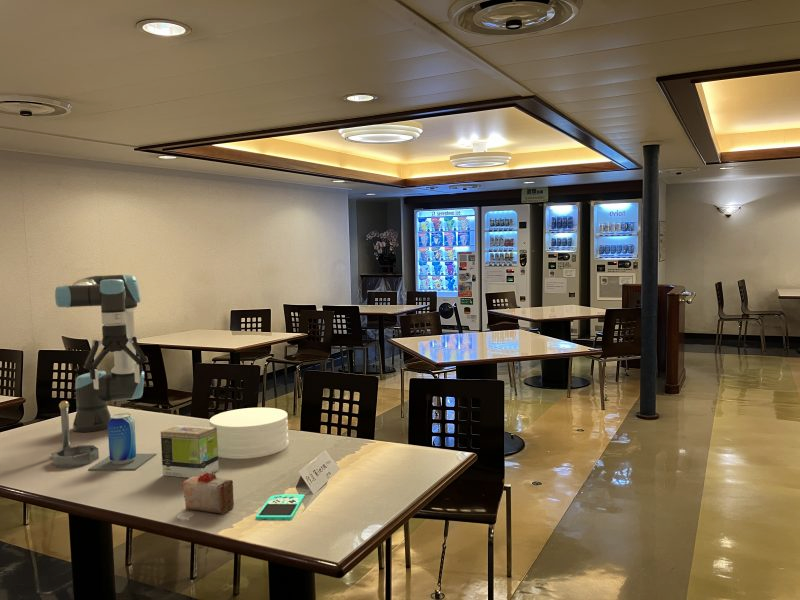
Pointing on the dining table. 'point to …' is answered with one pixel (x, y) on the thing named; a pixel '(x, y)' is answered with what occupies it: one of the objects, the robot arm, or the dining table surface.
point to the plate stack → (251, 432)
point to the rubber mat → (133, 465)
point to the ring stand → (72, 454)
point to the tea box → (189, 450)
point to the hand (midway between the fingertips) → (117, 385)
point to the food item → (208, 493)
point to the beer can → (121, 438)
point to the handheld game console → (280, 507)
